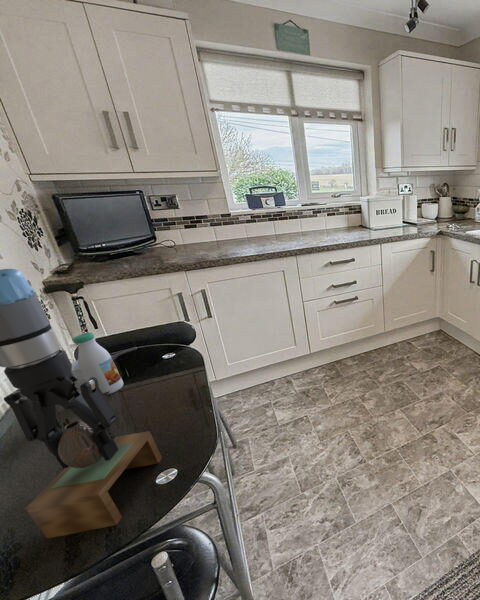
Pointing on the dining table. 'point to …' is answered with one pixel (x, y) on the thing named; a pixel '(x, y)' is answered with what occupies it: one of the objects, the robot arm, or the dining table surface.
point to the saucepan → (78, 373)
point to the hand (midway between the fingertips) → (91, 458)
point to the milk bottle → (97, 363)
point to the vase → (78, 446)
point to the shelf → (90, 490)
